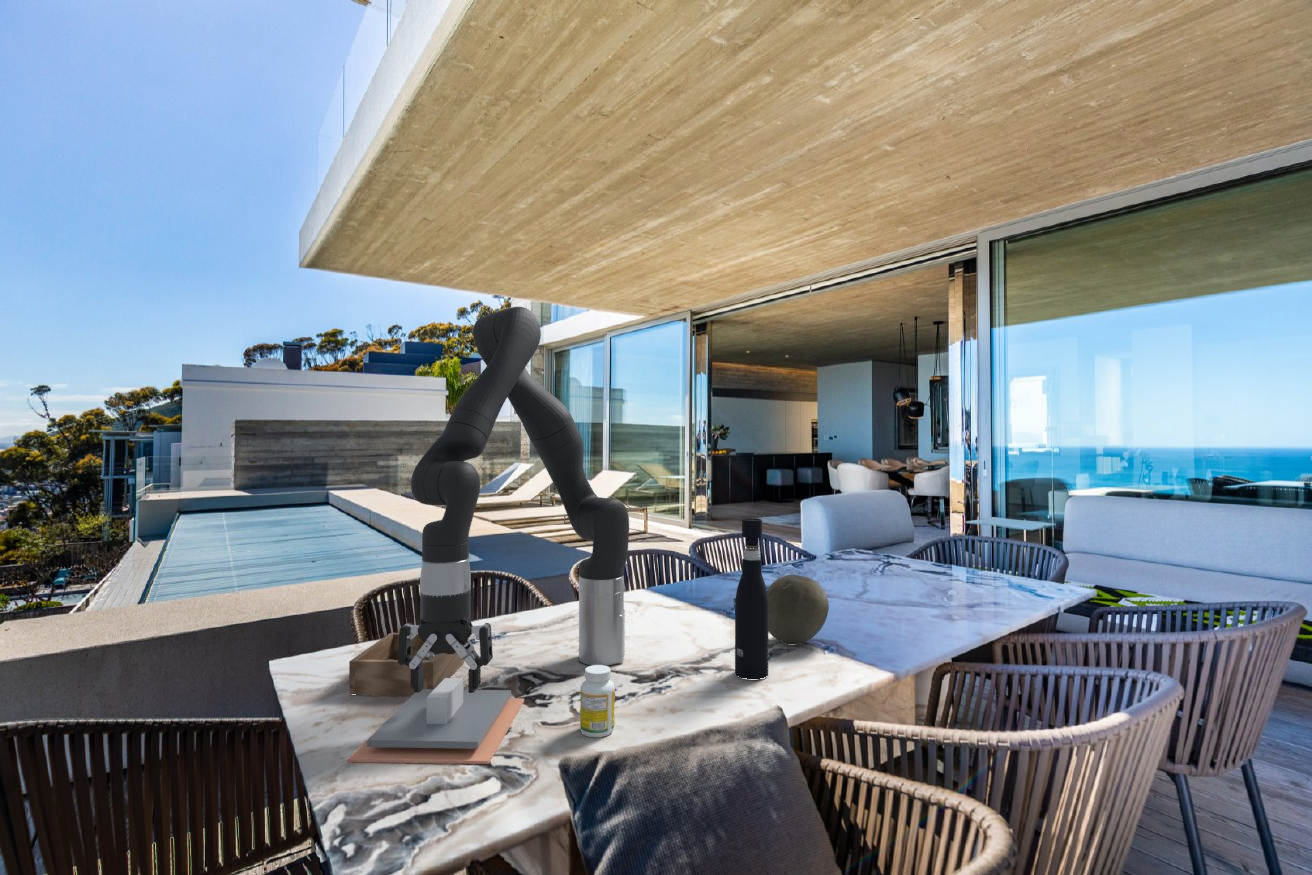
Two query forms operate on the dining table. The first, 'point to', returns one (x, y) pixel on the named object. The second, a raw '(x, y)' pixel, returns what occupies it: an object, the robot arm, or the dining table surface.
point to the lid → (442, 718)
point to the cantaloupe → (796, 609)
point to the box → (396, 669)
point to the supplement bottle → (597, 702)
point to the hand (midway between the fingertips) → (445, 690)
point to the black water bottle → (751, 609)
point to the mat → (444, 754)
